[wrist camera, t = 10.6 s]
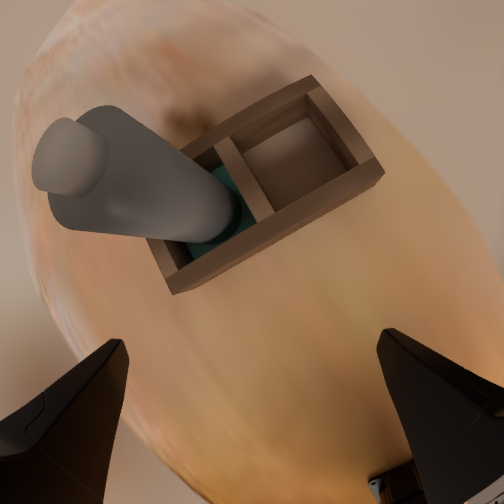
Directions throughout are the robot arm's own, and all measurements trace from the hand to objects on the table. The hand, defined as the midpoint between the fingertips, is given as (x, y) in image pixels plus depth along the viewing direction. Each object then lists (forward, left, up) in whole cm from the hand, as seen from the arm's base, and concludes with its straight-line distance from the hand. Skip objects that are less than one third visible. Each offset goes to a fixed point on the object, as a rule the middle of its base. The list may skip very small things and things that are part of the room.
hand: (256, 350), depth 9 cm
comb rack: (+8, -2, -11) cm, 14 cm away
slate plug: (+8, +2, -11) cm, 14 cm away
